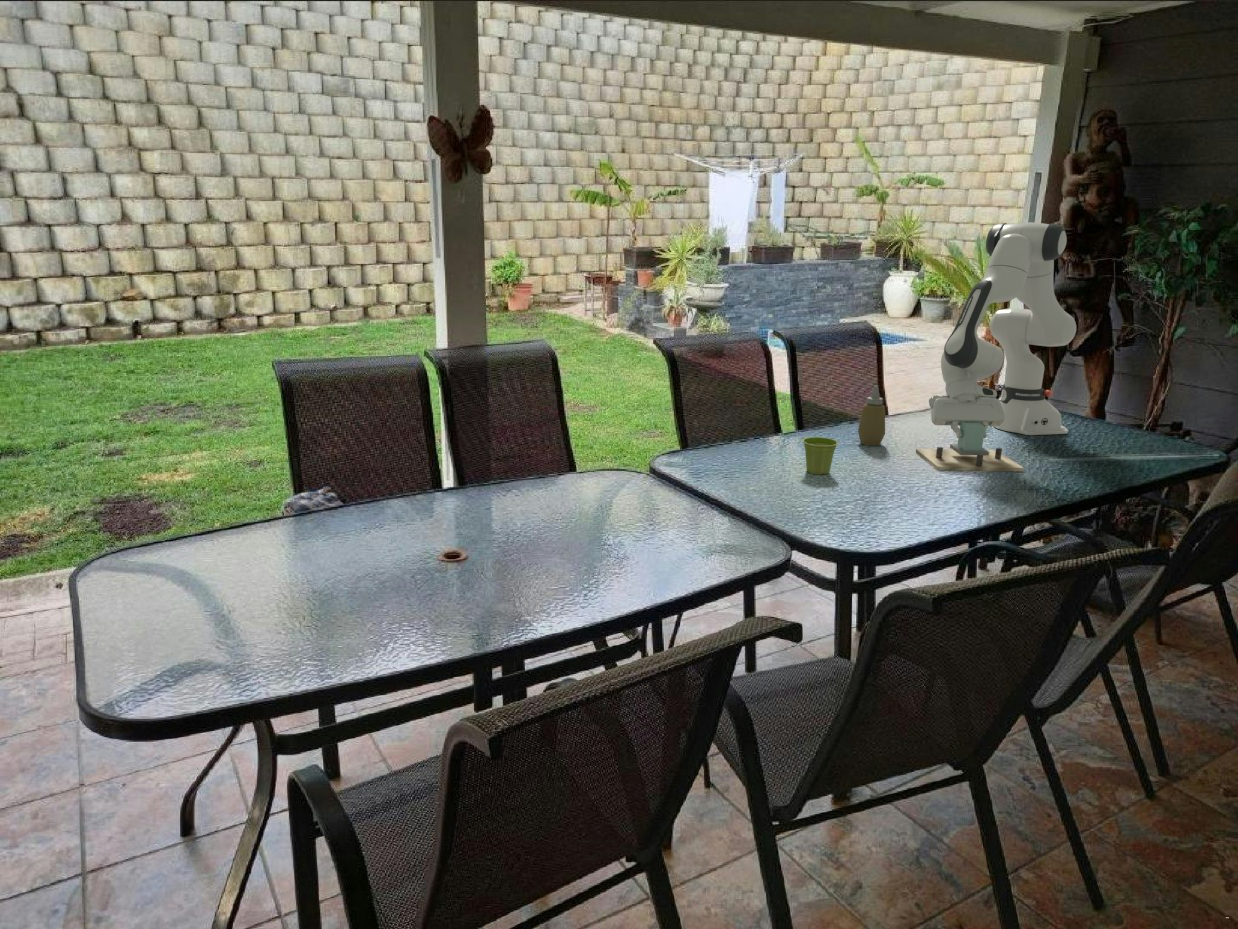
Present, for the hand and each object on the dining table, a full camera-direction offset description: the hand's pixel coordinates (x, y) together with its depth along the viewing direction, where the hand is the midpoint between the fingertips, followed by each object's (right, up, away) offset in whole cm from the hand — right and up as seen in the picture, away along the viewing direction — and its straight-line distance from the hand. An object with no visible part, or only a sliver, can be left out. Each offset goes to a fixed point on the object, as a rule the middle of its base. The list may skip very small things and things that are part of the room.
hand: (971, 437), depth 245 cm
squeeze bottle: (-23, -2, +20) cm, 31 cm away
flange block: (0, -4, +2) cm, 4 cm away
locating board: (0, -7, +3) cm, 7 cm away
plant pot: (-46, -10, -9) cm, 48 cm away
